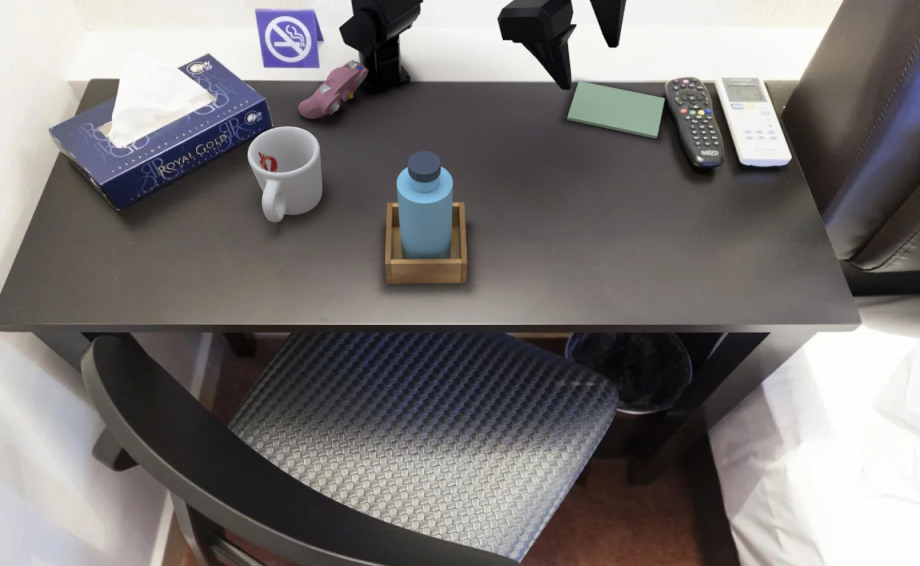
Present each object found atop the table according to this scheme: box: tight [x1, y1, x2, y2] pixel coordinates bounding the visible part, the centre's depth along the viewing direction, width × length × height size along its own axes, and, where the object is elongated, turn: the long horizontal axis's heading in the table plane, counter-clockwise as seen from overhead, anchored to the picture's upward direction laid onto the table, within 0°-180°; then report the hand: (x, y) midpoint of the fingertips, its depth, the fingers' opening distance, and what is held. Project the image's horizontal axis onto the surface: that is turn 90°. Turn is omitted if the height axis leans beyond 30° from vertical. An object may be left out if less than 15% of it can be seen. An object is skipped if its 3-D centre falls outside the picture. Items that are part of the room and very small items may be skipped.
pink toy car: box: [298, 59, 369, 120], centre depth 88 cm, size 10×5×7 cm, turn 148°
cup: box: [247, 125, 323, 223], centre depth 77 cm, size 11×8×8 cm
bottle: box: [396, 150, 454, 259], centre depth 70 cm, size 6×6×14 cm
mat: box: [566, 80, 666, 140], centre depth 90 cm, size 12×8×1 cm, turn 73°
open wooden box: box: [384, 201, 468, 285], centre depth 74 cm, size 9×9×4 cm
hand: (590, 67), depth 70 cm, fingers open, 9 cm apart
